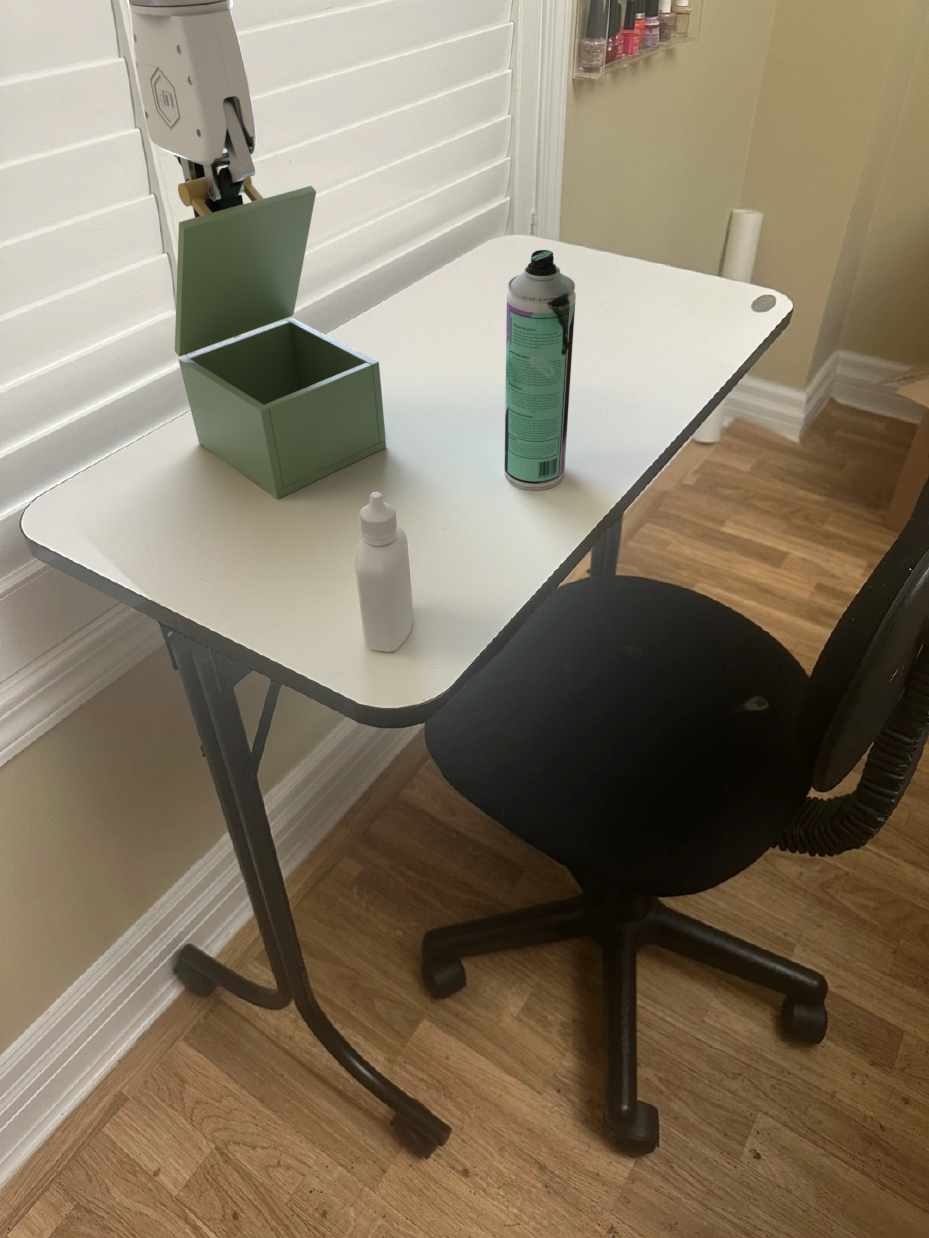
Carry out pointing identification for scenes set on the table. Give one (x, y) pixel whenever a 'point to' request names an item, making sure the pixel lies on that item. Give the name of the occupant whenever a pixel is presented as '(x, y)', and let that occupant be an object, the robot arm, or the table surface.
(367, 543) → the eye dropper bottle
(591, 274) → the table surface
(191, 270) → the lid
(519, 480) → the spray can
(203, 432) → the chest
